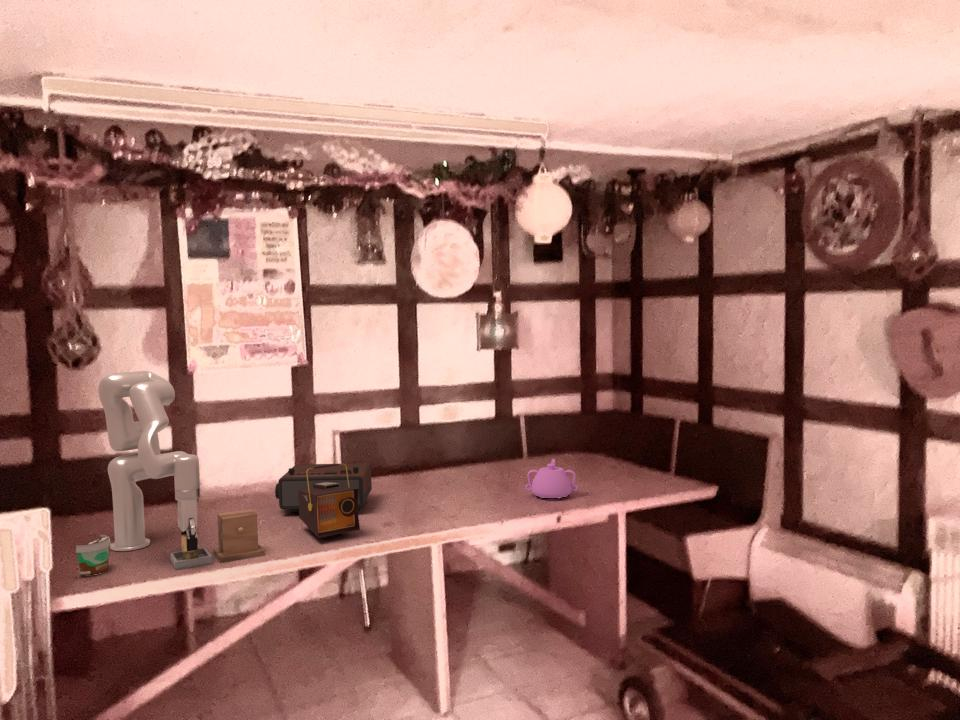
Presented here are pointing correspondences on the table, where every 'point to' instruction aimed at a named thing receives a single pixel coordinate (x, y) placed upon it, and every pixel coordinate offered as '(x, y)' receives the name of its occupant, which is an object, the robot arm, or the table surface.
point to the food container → (94, 556)
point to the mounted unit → (237, 536)
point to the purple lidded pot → (551, 482)
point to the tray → (182, 564)
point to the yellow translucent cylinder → (186, 553)
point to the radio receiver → (335, 474)
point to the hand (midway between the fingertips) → (189, 546)
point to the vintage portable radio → (329, 507)
